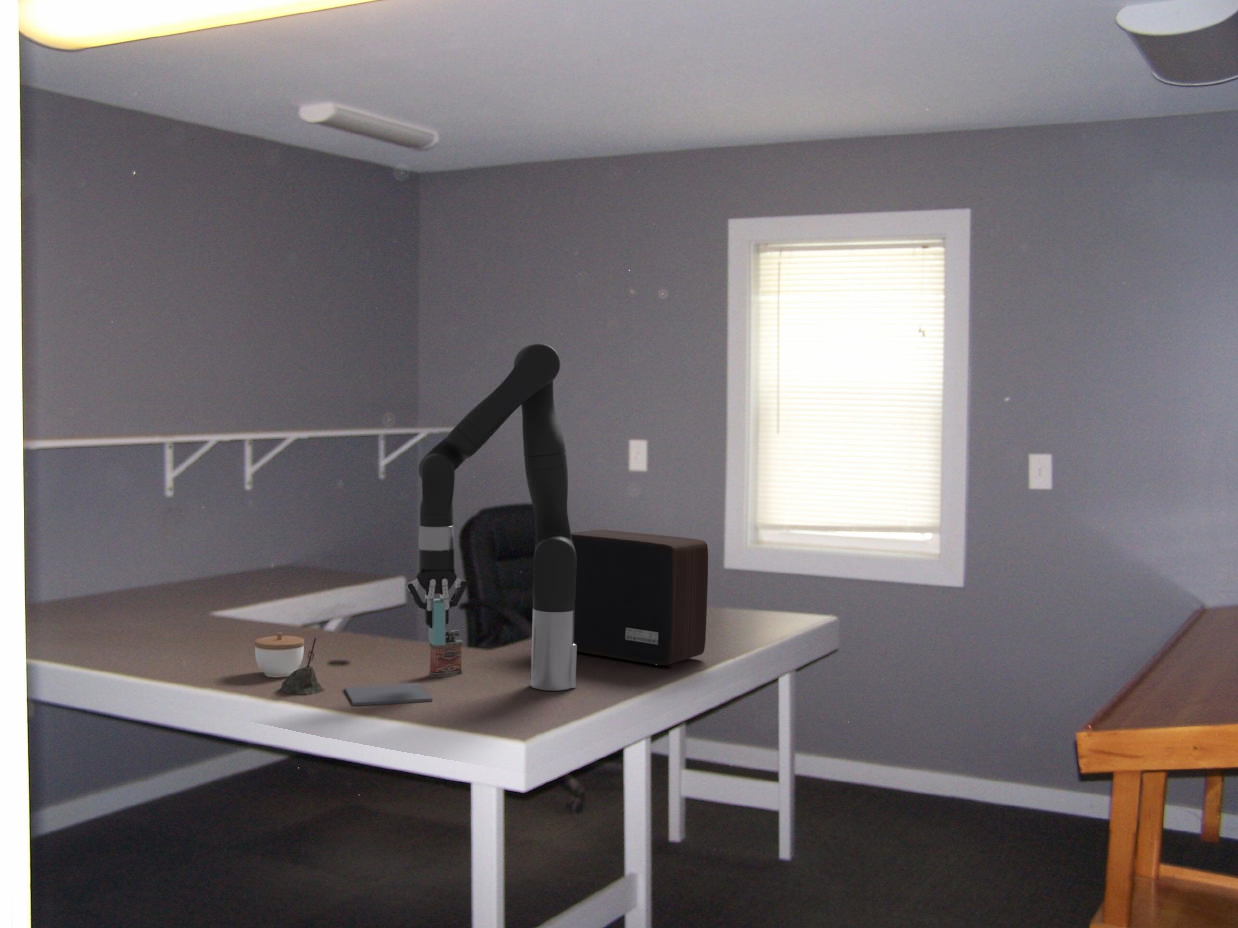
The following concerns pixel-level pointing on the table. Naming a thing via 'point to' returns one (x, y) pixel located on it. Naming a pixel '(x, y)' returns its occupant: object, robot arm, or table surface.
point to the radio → (640, 596)
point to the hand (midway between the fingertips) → (437, 626)
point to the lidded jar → (279, 654)
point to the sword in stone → (302, 680)
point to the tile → (437, 623)
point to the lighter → (446, 656)
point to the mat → (387, 694)
